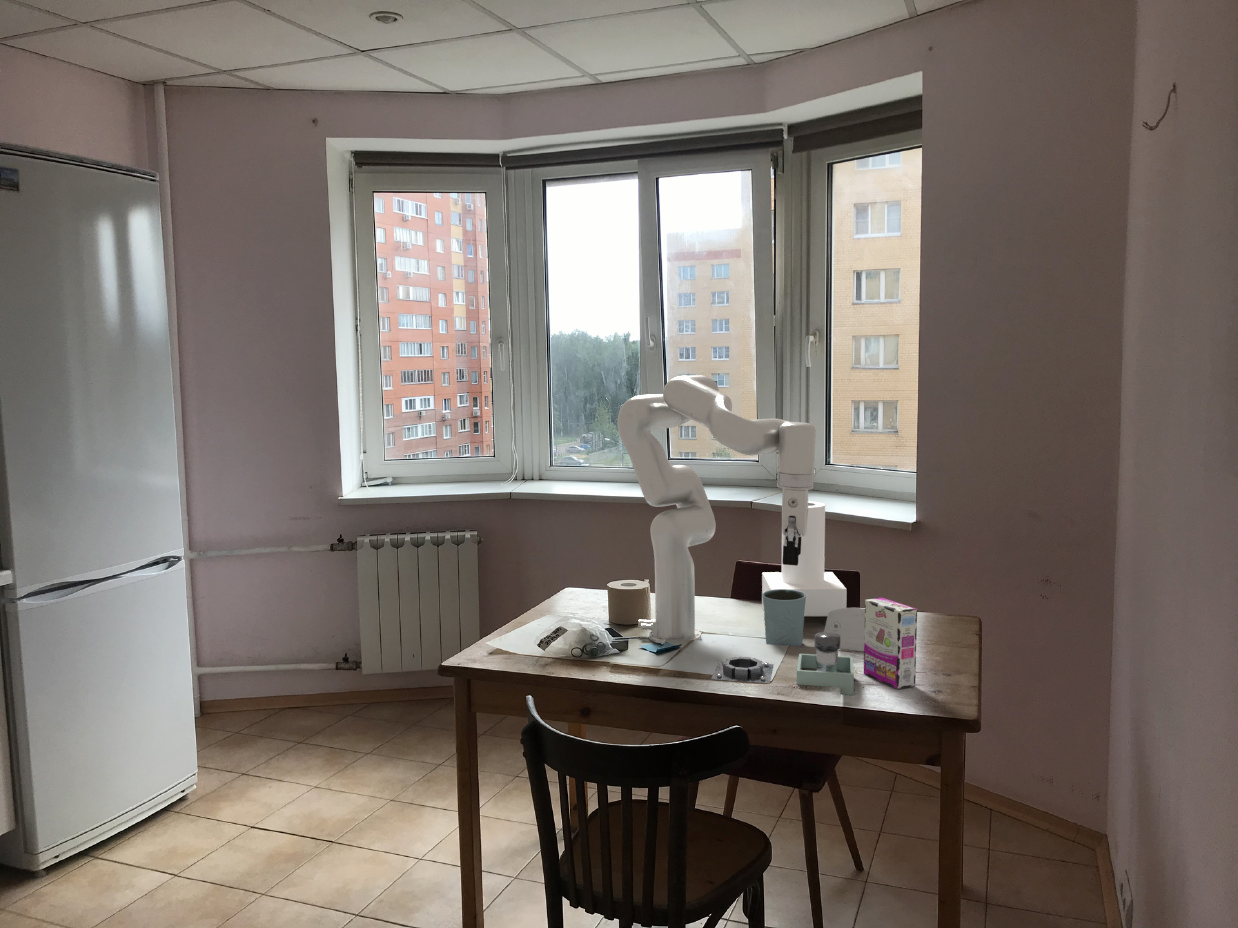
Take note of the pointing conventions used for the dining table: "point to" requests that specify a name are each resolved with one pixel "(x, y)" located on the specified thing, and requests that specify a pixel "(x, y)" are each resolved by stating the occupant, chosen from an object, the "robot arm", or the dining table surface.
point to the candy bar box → (890, 642)
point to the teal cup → (784, 616)
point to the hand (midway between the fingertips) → (791, 559)
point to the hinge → (848, 627)
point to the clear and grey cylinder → (827, 651)
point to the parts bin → (827, 674)
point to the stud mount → (743, 670)
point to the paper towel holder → (810, 570)
